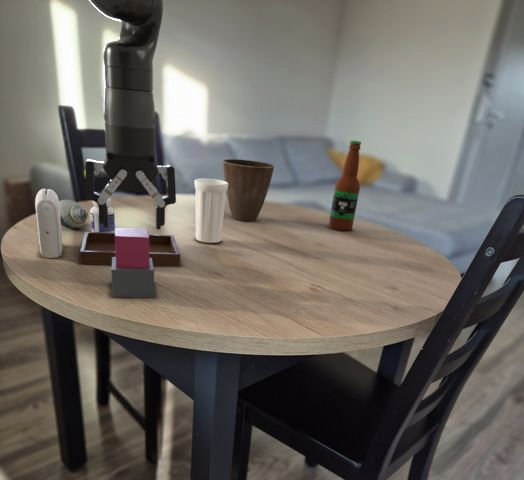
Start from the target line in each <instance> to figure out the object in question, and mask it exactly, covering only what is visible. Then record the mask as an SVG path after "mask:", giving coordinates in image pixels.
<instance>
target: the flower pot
mask: <svg viewBox="0 0 524 480" xmlns="http://www.w3.org/2000/svg"><path fill="white" fill-rule="evenodd" d="M222 165H223V166H222V167H223V168H222V169H223V179H224V180H223V181H226V182H227V183H228V189H227V191H226V199H227V202H228V203H227V204H228V206H229V211H230V214H231V217H232V219H234V220H237V221H241V222H255V221H256V220H257V219H258V217H259V215H260V213H261V210H262V208H263V206H264V203H265V201H266V198H267V194H268V192H269V189H270V185H271V182H272V178H273V173H274V170H275V164H272V163H269V162H262V161H256V160H249V159H239V158H237V159H234V158H228V159H226V158H225V159H223V160H222Z"/></svg>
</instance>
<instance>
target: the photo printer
mask: <svg viewBox="0 0 524 480" xmlns="http://www.w3.org/2000/svg"><path fill="white" fill-rule="evenodd" d="M59 201H60V200H59V196H58V194H57V193H56V192H55V191H54V190H53V189H51V188H48V189H47V188H41V189H40V190H38V192H37V193H36V196H35V201H34V206H35V215H36V224H37V225H36V226H37V233H38V243H39V251H40V254H41V256H42V257H44V258H48V259H56V258H59V257H61V256H62V253H63V234H62V232H63V231H62V225H61V221H60V210H59Z"/></svg>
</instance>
